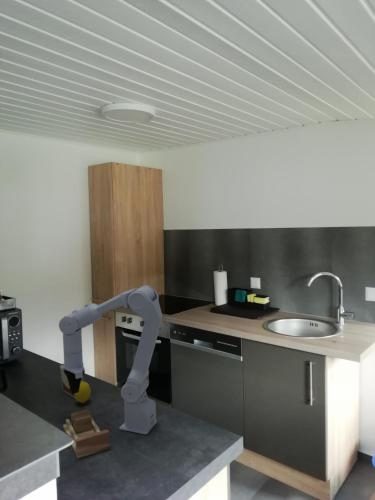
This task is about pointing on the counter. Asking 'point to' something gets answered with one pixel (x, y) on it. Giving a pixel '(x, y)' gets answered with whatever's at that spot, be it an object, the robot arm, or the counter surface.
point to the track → (88, 440)
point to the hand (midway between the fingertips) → (74, 392)
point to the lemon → (83, 392)
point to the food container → (65, 382)
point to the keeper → (81, 421)
